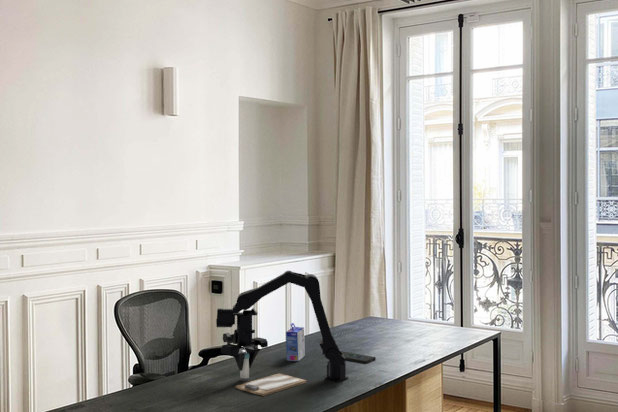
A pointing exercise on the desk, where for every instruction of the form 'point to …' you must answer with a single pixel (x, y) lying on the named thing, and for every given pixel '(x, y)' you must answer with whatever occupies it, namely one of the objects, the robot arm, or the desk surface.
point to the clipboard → (271, 384)
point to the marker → (245, 368)
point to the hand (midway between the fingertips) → (244, 369)
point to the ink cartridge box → (295, 343)
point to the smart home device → (358, 357)
